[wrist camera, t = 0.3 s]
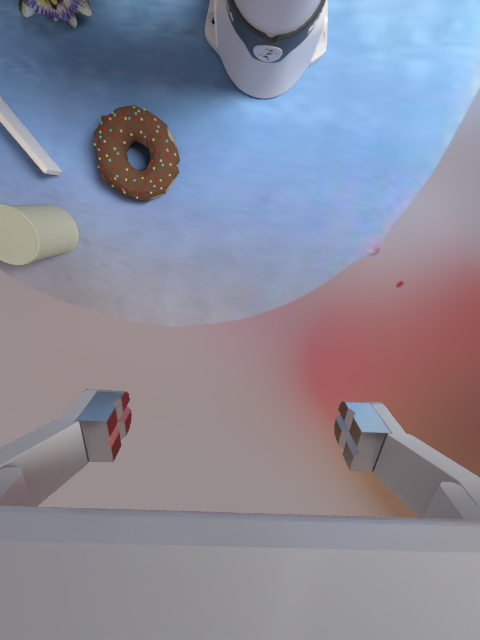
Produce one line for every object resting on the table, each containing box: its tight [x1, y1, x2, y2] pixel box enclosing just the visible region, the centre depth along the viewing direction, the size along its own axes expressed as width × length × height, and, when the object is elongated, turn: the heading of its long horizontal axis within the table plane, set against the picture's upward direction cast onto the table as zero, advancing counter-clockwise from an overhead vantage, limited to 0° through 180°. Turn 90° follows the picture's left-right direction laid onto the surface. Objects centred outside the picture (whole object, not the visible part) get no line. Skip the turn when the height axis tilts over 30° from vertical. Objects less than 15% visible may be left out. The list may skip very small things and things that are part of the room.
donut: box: [94, 105, 180, 202], centre depth 45 cm, size 14×14×5 cm
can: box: [0, 204, 79, 265], centre depth 46 cm, size 9×9×12 cm
